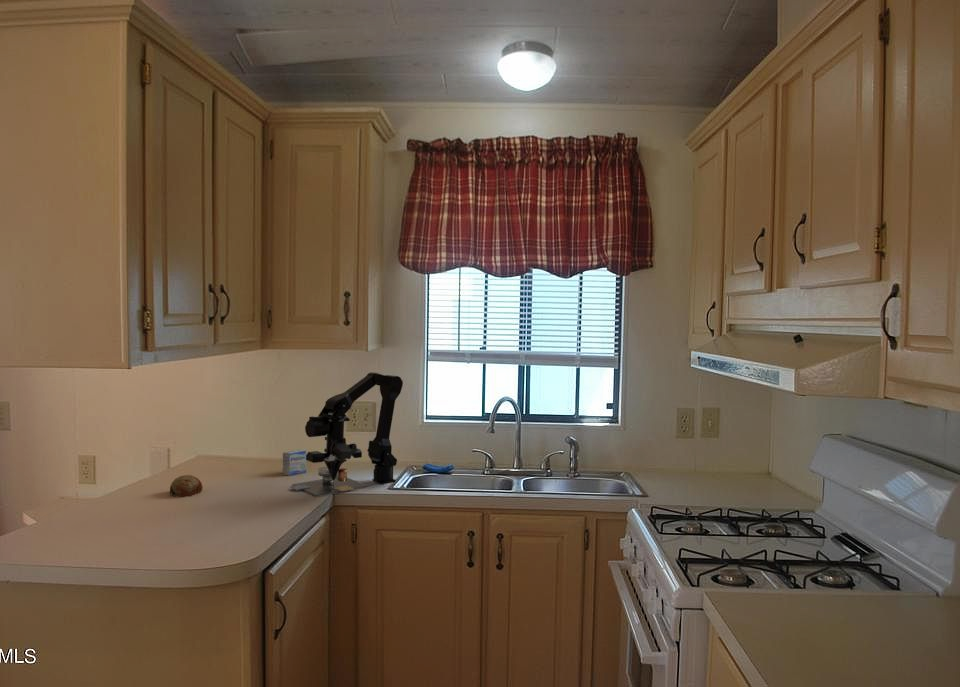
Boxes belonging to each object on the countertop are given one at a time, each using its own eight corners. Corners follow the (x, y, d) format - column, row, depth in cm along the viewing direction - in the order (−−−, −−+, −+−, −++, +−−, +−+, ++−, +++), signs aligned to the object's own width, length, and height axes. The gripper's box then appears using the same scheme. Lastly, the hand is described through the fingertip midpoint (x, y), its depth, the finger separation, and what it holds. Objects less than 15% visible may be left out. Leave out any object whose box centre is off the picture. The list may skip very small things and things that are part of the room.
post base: (341, 477, 234) (341, 468, 234) (369, 487, 219) (369, 478, 219) (285, 487, 219) (285, 477, 218) (311, 499, 204) (311, 488, 204)
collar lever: (315, 473, 224) (315, 462, 223) (332, 471, 228) (332, 460, 228) (335, 482, 211) (335, 471, 211) (353, 479, 216) (353, 468, 216)
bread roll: (168, 503, 209) (158, 485, 206) (192, 485, 217) (183, 466, 214) (187, 508, 205) (178, 489, 201) (211, 488, 213) (202, 470, 209)
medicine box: (289, 476, 234) (289, 453, 234) (282, 474, 237) (282, 452, 237) (306, 472, 241) (306, 450, 240) (299, 470, 243) (299, 449, 243)
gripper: (321, 440, 200) (320, 488, 200) (371, 435, 213) (369, 480, 213) (306, 435, 208) (304, 481, 208) (354, 431, 221) (352, 474, 221)
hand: (333, 479), depth 212 cm, fingers closed
